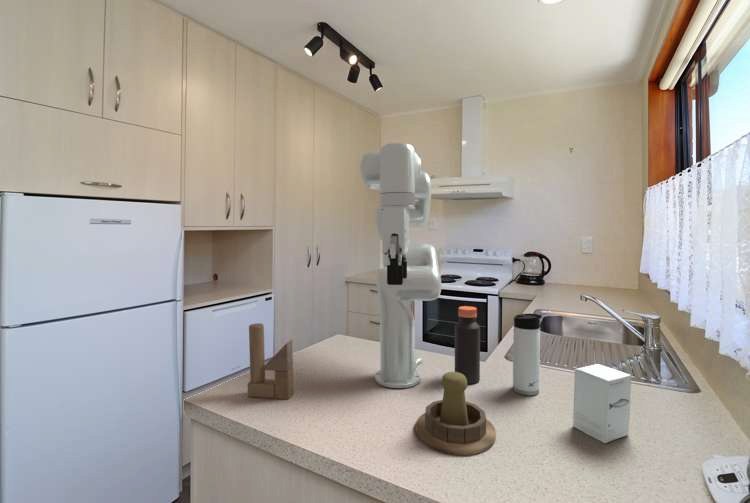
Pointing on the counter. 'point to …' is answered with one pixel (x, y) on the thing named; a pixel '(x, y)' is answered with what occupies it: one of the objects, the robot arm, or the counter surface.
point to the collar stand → (456, 431)
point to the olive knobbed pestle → (454, 399)
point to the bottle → (467, 344)
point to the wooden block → (269, 368)
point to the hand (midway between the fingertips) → (397, 281)
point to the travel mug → (526, 353)
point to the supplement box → (602, 402)
